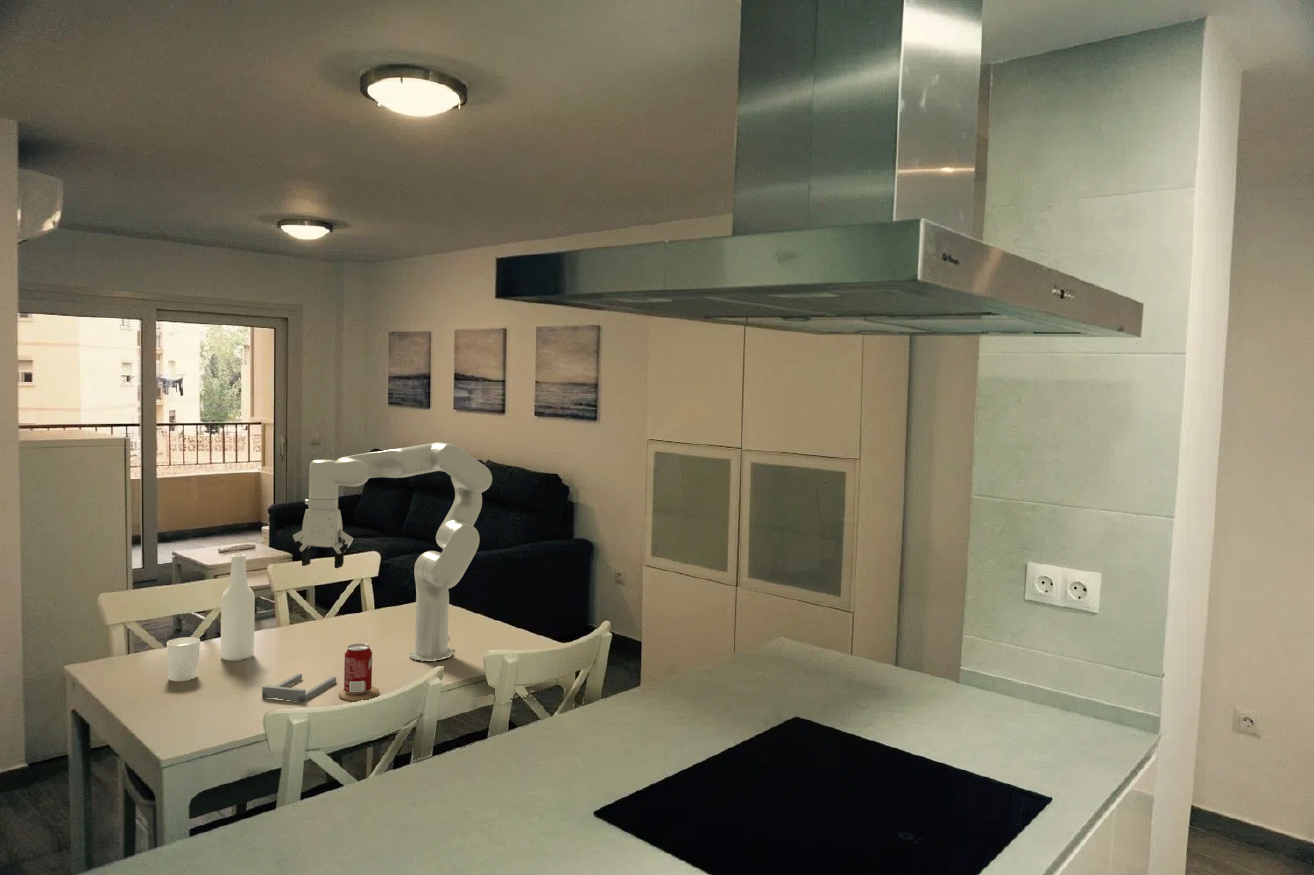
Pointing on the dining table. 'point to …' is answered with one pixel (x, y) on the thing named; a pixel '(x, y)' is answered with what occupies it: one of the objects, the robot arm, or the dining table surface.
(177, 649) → the white cup
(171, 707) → the dining table surface
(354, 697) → the coaster
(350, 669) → the soda can
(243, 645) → the alcohol
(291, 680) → the u-shaped frame
